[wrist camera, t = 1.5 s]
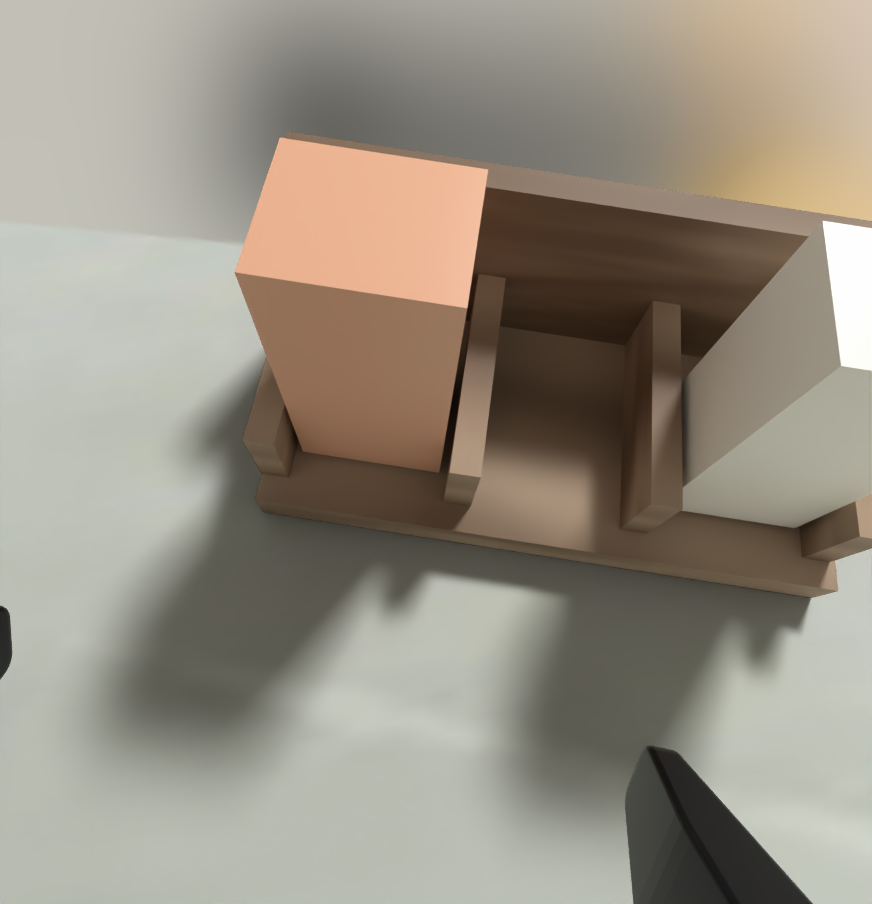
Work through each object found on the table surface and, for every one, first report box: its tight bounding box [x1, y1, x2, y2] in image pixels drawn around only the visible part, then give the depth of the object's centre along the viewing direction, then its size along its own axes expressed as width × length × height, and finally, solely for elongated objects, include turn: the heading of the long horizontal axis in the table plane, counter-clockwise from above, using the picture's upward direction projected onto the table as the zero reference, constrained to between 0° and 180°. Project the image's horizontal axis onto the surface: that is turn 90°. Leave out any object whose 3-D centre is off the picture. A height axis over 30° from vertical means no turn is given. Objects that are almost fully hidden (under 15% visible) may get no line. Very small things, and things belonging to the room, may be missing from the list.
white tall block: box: [681, 221, 872, 528], centre depth 18 cm, size 4×5×10 cm
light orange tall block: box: [235, 138, 488, 473], centre depth 18 cm, size 4×5×10 cm
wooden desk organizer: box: [242, 132, 872, 598], centre depth 21 cm, size 10×21×8 cm, turn 82°
